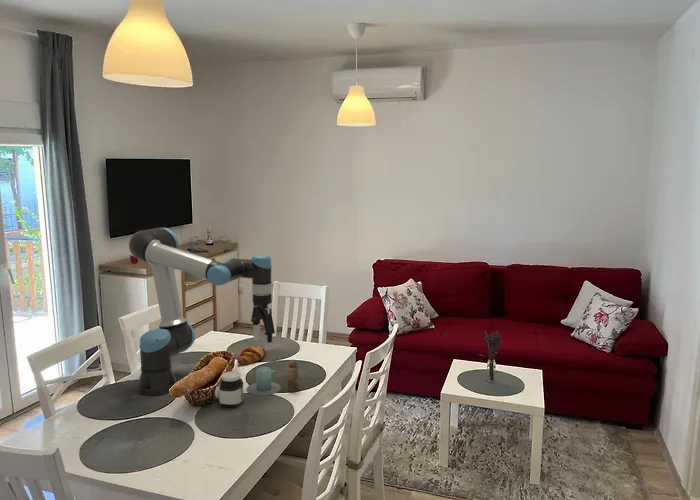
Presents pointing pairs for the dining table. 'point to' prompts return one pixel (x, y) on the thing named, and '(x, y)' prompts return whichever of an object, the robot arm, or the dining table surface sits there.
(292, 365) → the salt mill
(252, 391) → the grey flat disc
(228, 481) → the dining table surface
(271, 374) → the mug
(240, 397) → the spread jar
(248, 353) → the croissant
